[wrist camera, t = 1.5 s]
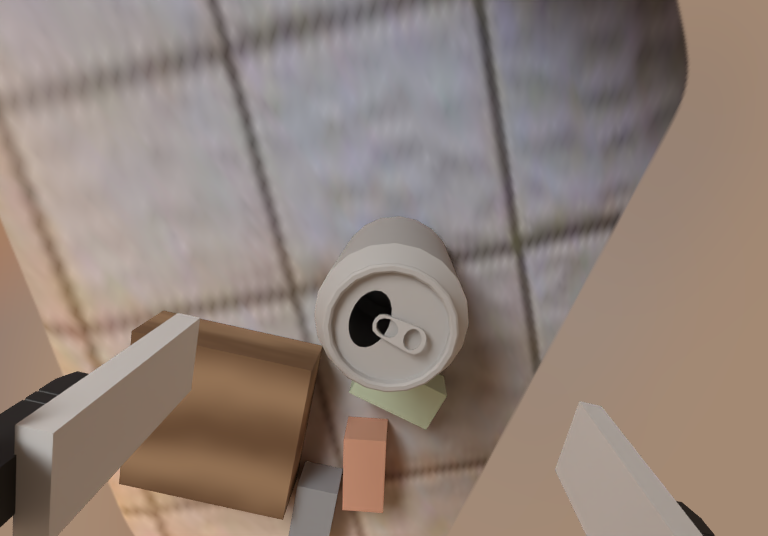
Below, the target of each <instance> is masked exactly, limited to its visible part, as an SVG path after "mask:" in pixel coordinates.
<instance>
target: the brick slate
mask: <svg viewBox="0 0 768 536" xmlns="http://www.w3.org/2000/svg"><path fill="white" fill-rule="evenodd" d="M342 470H343V469H342V468H337V467H332V466H327V465H322V464H317V463H312V462H307V461H306V462H305V465H304V468H303V471H302V474H301V477H300V480H299V483H298V486H297V492H296V497H295V503H294V509H293V514H292V520H291V526H290V531H289V536H329V534H330V529H331V524H332V519H333V515H334V510H335V505H336V500H337V495H338V490H339V485H340V480H341V475H342Z"/></svg>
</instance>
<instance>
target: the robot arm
mask: <svg viewBox="0 0 768 536" xmlns="http://www.w3.org/2000/svg"><path fill="white" fill-rule="evenodd" d="M199 323H200V318H198V317H194V316H189V315H185V314H180V313H177V314H176V315H174V316H173V317H171V318H170V319H168V320H167V321H166V322H164V323H163V324H161V325H160V326H158V327H157V328H155V329H154V330H152V331H151V332H150V333H148V334H147V335H145V336H144V337H142V338H141V339H139V340H138V341H136V342H135V343H133V344H132V345H131V346H129V347H128V348H126V349H125V350H123V351H122V352H120V353H119V354H117V355H116V356H115V357H113V358H112V359H110V360H109V361H107V362H106V363H104V364H103V365H101V366H100V367H99V368H97V369H96V370H94V371H93V372H91V373H90V374H87V373H82V372H78V371H77V372H74V373H71V374H68V375H65V376H62V377H60V378H57V379H55V380H53V381H51V382H50V383H48V384H47V385H45V386H44V387H42V388H40V389H39V391H38V392H34V393H33V394H31V395H29V396H28V397H26V399H25V400H22V401H20V402H19V403H17V404H15V405H14V406H12V407H11V408H9V409H8V410H6V411H4V412H3V413H1V414H0V527H1V526H2V525H3V524H4V523H5V522H7V521H8V519H10V518H11V517H12V516H13V536H58V535H59V533H60V532H61V531H62V530H63V529H64V528H65V527H66V526H67V525H68V524H69V523H70V521H71V520H72V519H73V518H74V517H75V516H76V515H77V514H78V513H79V512H80V511H81V509H82V508H83V507H84V506H85V505H86V504H87V503H88V502H89V501H90V500H91V499H92V498H93V497H94V495H95V494H96V493H97V492H98V491H99V490H100V489H101V488H102V487H103V486H104V484H105V483H106V482H107V481H108V480H109V479H110V478H111V477H112V476H113V475H114V474H115V473H116V471H117V470H118V469H119V468H120V467H121V466H122V465H123V464H124V463H125V462H126V461H127V459H128V458H129V457H130V456H131V455H132V454H133V453H134V452H135V451H136V450H137V449H138V448H139V446H140V445H141V444H142V443H143V442H144V441H145V440H146V439H147V438H148V437H149V436H150V434H151V433H152V432H153V431H154V430H155V429H156V428H157V427H158V426H159V425H160V424H161V422H162V421H163V420H164V419H165V418H166V417H167V416H168V415H169V414H170V413H171V412H172V410H173V409H174V408H175V407H176V406H177V405H178V404H179V403H180V402H181V401H182V400H183V398H184V397H185V396H186V395H187V394H188V393H189V392H190V391H191V387H192V379H193V371H194V363H195V355H196V347H197V339H198V331H199ZM555 471H556V473H557V475H558V477H559V479H560V481H561V483H562V486H563V488H564V490H565V492H566V494H567V496H568V498H569V500H570V502H571V505H572V507H573V509H574V511H575V513H576V515H577V517H578V519H579V521H580V523H581V526H582V528H583V529H584V532H585V534H586V536H714V534H713V532H712V531H711V530H710V529H709V528H708V526H707V525H706V524H705V523H704V521H703V520H702V519H701V518H700V517H699V516H698V515H696V514H695V513H694V512H693V511H691V510H690V509H689V508H688V507H687V506H686V505H684V504H683V503H682V502H678V501H675V499H674V498H673V497H672V496H671V494H670V493H669V492H668V490H667V489H666V488H665V487H664V485H663V484H662V483H661V482H660V480H659V479H658V478H657V477H656V475H655V474H654V473H653V471H652V470H651V469H650V468H649V466H648V465H647V464H646V462H645V461H644V460H643V459H642V457H641V456H640V455H639V454H638V452H637V451H636V450H635V448H634V447H633V446H632V445H631V443H630V442H629V441H628V439H627V438H626V437H625V436H624V434H623V433H622V432H621V430H620V429H619V428H618V427H617V426H616V424H615V423H614V422H613V420H612V419H611V418H610V416H609V415H608V414H607V413H606V411H605V410H604V409H603V408H602V406H598V405H594V404H590V403H585V402H581V401H580V402H579V404H578V407H577V409H576V412H575V415H574V418H573V421H572V424H571V426H570V429H569V432H568V435H567V437H566V440H565V443H564V446H563V449H562V451H561V454H560V457H559V460H558V463H557V466H556V468H555Z"/></svg>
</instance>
